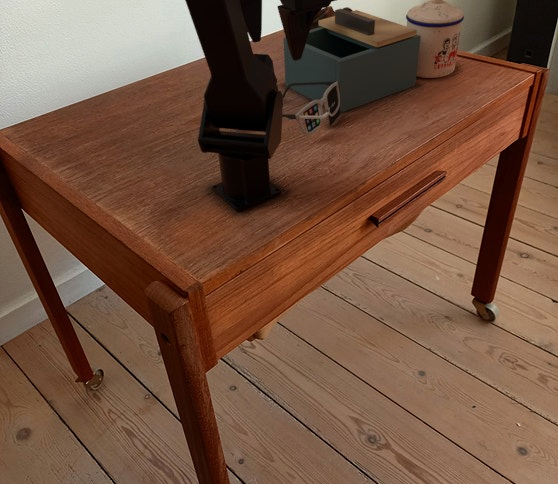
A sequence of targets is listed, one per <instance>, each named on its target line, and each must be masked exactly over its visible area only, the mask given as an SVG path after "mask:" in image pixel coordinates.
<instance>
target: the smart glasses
mask: <svg viewBox="0 0 558 484" xmlns="http://www.w3.org/2000/svg"><path fill="white" fill-rule="evenodd" d="M322 84H325V85H329V86H330V87H329V88H328V89H327V90H326V91H325V93H324V96H323V98H322V99H321V100H312V101H310V102H308V103H307V104H306V105H305V106H303V107H302V108H301V109H300V110H299V111H298V112H297V113H296V114H295V113H291V114H290V113H282V118H286V119H289V120H296V121H297V123H298V126H299V128H300V131H301V133H302V135H307V136H309V135H312V134H314V133H315V132H317V131H318V130H319V129H320V127H321V126H322V123H323V120H325V119H326V118H327V117H328V121H329V126H330V127H331V126H333V124H334V122H336V120H337V119H338V118H339V117H340V115H341V114H342V113H341V112H340V107H339V106H340V95H339V85H338V81H337V82H336V81H331V82H305V83H291V84H289V85H288V86H286V88H285V89H284V92H283V93H282V97H283V99H284V98H285V97H286V94H287V92H288V91H289V90H290V87H291V86H294V85H322ZM323 103H324V105H325V106H324V109H325V113H323ZM302 119H304V122H305V127H306V129H305V127H304V123H303V122H302V121H303V120H302Z"/></svg>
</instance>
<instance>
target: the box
mask: <svg viewBox="0 0 558 484" xmlns="http://www.w3.org/2000/svg"><path fill="white" fill-rule="evenodd" d="M282 38H283V39H282V40H283V59H284V60H283V62H284V63H283V64H284V84H285V87H287V86H288V85H289V84H291V83H305V82H331V81H336V82H337V81H338V85H339V95H340V106H339V107H340V112H341V114H342V113H344V112H347V111H349V110H353V109H355V108H357V107H361V106H364V105H367V104H369V103H371V102H372V103H373V102H375V101H377V100H379V99H382V98H385V97H388V96H391V95H393V94H396V93H399V92H402V91H405V90H407V89H410V88H412V87H415V86H416V83H417V76H416V75H417V66H418V57H419V48H420V38H421V36H420V35H417V34H416V35H415V36H412V37H409V38H406V39H403V40H399V41H396V42H393V43H390V44H387V45H384V46H381V47H374V46H372V45H369V44H367V43H364V42H361V41H359V40H356V39H353V38H351V37H348V36H345V35H343V34H340V33H337V32H335V31H332V30H329V29H327V28H324V27H319V28H316V29H312V30H310V32H309V35H308V38H307V42H306V45H305V48H304V51H303V54H302V58H301V59H300V60H297V61H294V60H293V59H292V56H291V54H290V51H289V47H288V44H287V40H286V36H284V37H282ZM329 87H330V86H329V85H325V84H322V85H294V86H291V87H290V88H289V90H290V89H291V90H292V91H294V92H296V93H298V94H300V95H301V96H304V97H306V98H308V99H310V100H312V101H314V100H321V99H322V98H323V96H324V93H325V91H326V90H327V89H328V88H329ZM323 106H324V107H325V105H324V103H323V105H322V107H323Z"/></svg>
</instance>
